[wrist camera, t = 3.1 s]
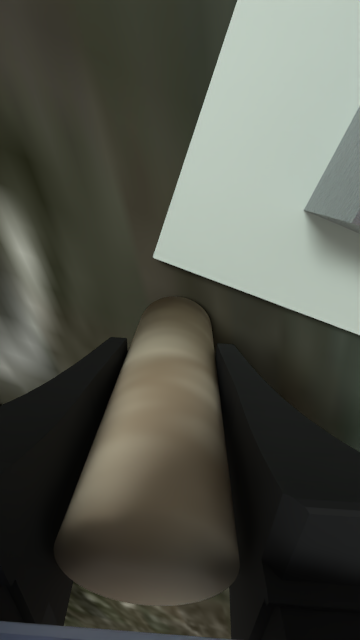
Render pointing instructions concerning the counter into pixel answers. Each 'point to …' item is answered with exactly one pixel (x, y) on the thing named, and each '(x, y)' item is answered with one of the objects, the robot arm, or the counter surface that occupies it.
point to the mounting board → (273, 161)
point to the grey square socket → (341, 182)
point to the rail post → (157, 473)
